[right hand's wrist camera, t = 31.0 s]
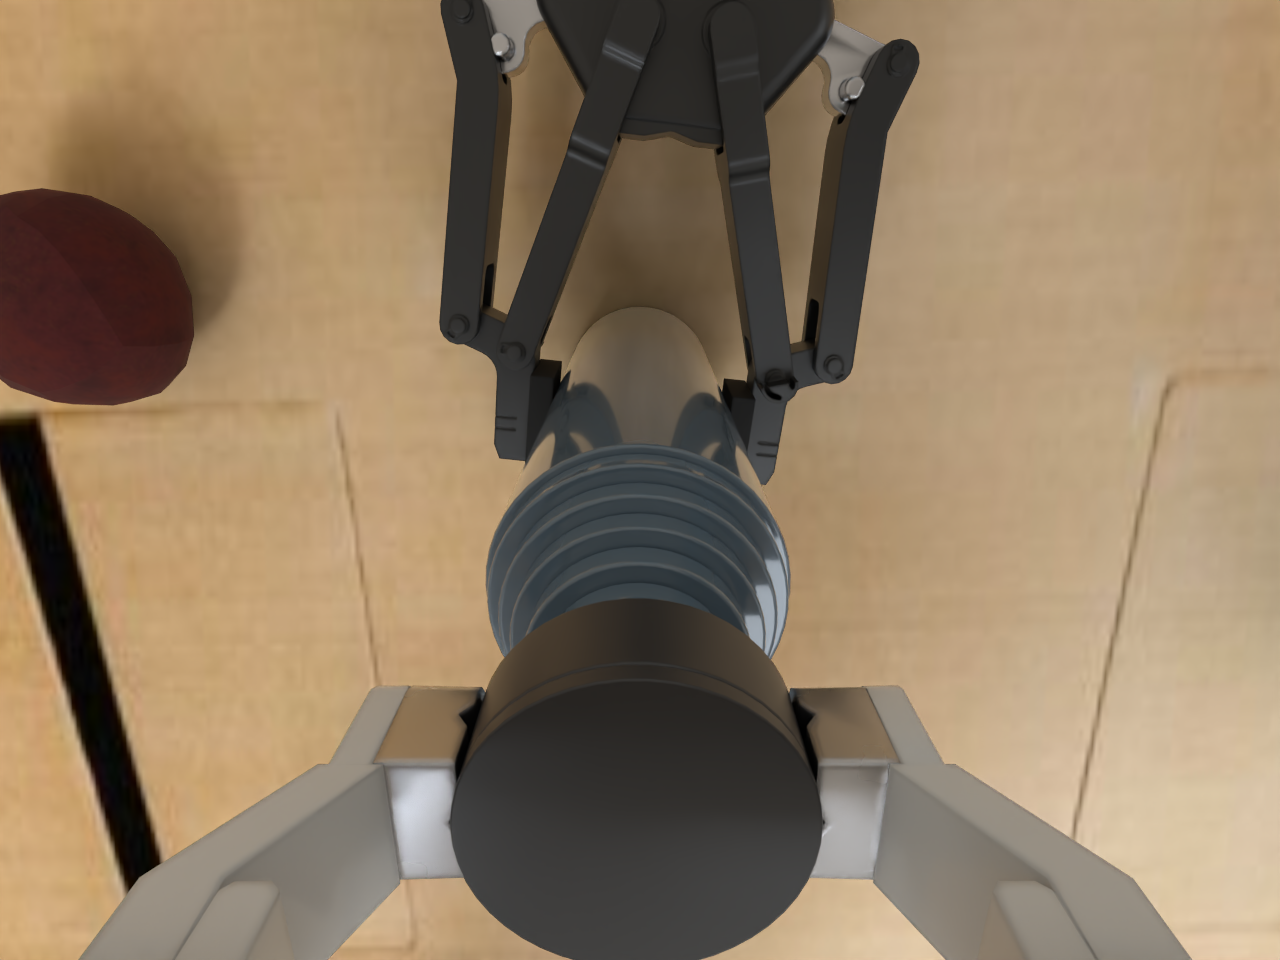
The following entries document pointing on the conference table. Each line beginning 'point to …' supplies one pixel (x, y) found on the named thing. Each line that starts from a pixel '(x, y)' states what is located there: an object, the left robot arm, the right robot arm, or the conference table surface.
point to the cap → (636, 787)
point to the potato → (87, 301)
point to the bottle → (638, 493)
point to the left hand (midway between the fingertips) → (624, 550)
